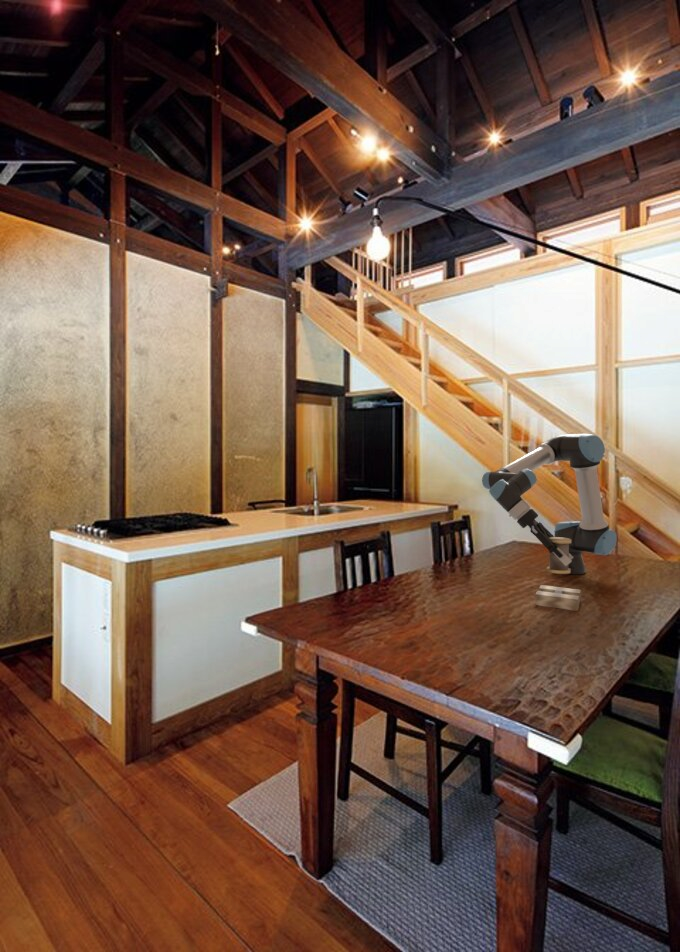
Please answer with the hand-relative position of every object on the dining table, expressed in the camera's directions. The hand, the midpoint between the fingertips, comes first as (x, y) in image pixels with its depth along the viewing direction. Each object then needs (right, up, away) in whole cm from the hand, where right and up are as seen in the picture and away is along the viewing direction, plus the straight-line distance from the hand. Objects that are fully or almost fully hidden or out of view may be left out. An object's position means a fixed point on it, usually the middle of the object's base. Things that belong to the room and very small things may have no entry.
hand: (569, 561), depth 182 cm
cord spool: (-3, -4, +2) cm, 5 cm away
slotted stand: (-3, -16, +3) cm, 16 cm away
